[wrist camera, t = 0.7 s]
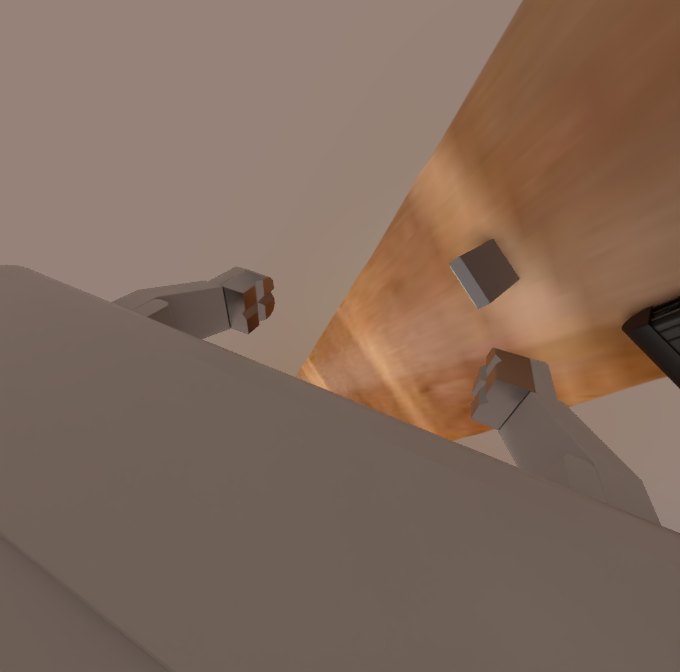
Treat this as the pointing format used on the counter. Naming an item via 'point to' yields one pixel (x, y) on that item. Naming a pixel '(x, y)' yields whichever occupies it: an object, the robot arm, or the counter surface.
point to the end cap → (659, 336)
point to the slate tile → (484, 273)
